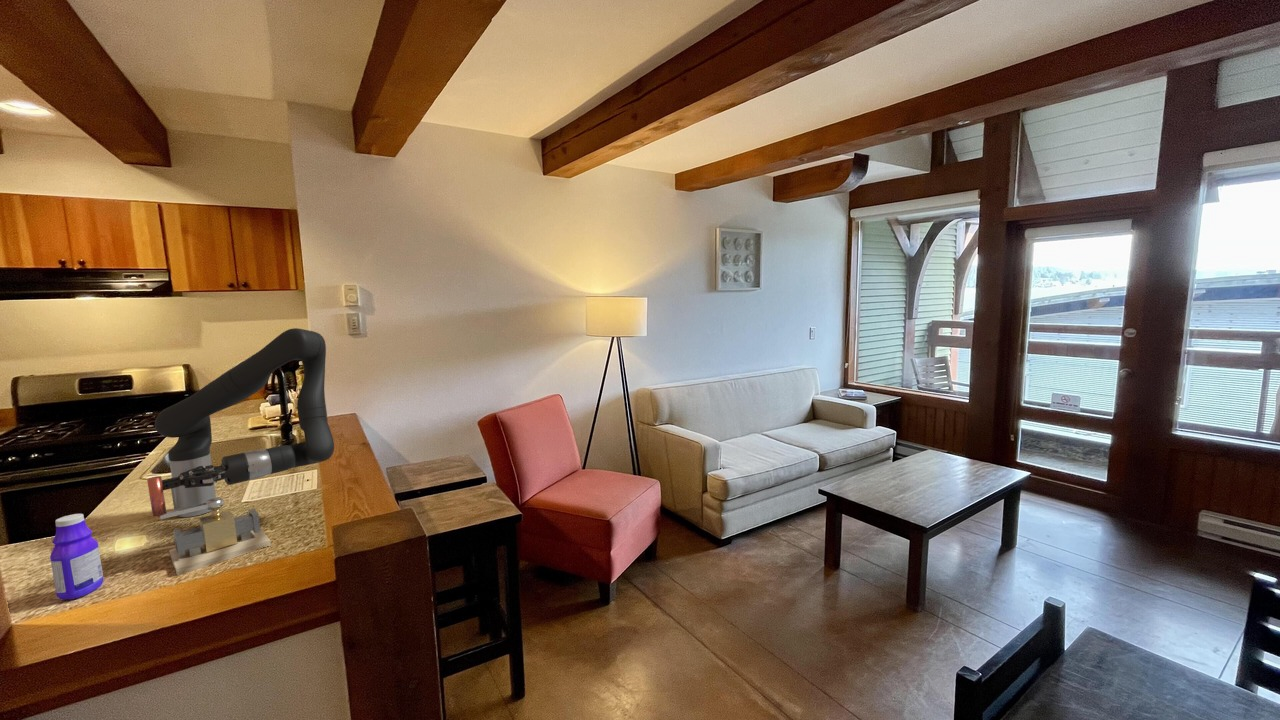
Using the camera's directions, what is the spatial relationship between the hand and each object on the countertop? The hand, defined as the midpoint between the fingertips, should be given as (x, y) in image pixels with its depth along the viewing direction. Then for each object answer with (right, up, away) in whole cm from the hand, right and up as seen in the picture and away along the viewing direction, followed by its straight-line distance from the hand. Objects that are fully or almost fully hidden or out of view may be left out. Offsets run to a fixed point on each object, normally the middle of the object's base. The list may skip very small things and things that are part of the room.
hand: (157, 486), depth 120 cm
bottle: (-8, -21, -9) cm, 24 cm away
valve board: (+9, -18, +8) cm, 22 cm away
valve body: (+9, -17, +8) cm, 20 cm away
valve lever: (+5, -7, +3) cm, 9 cm away
